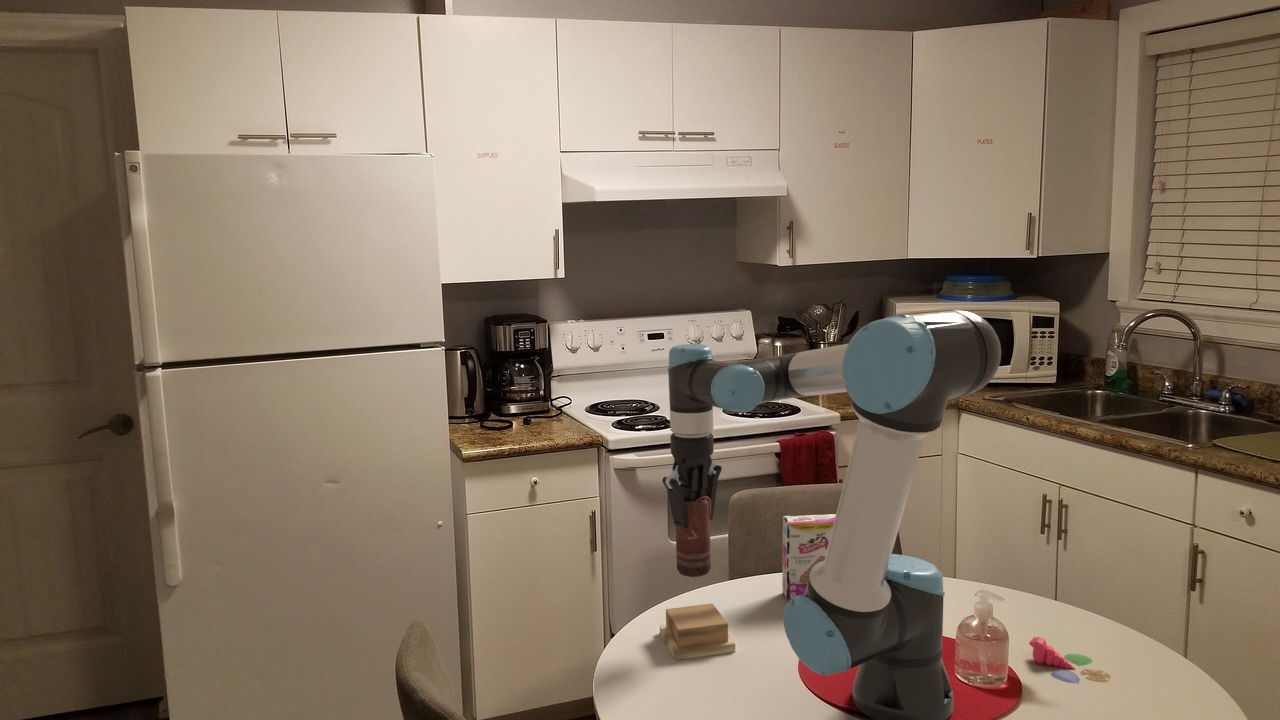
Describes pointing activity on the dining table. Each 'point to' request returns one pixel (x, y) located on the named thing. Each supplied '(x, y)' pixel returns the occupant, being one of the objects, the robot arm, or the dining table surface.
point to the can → (695, 539)
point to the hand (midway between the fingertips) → (694, 561)
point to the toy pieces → (1064, 663)
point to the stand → (696, 632)
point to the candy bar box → (803, 549)
